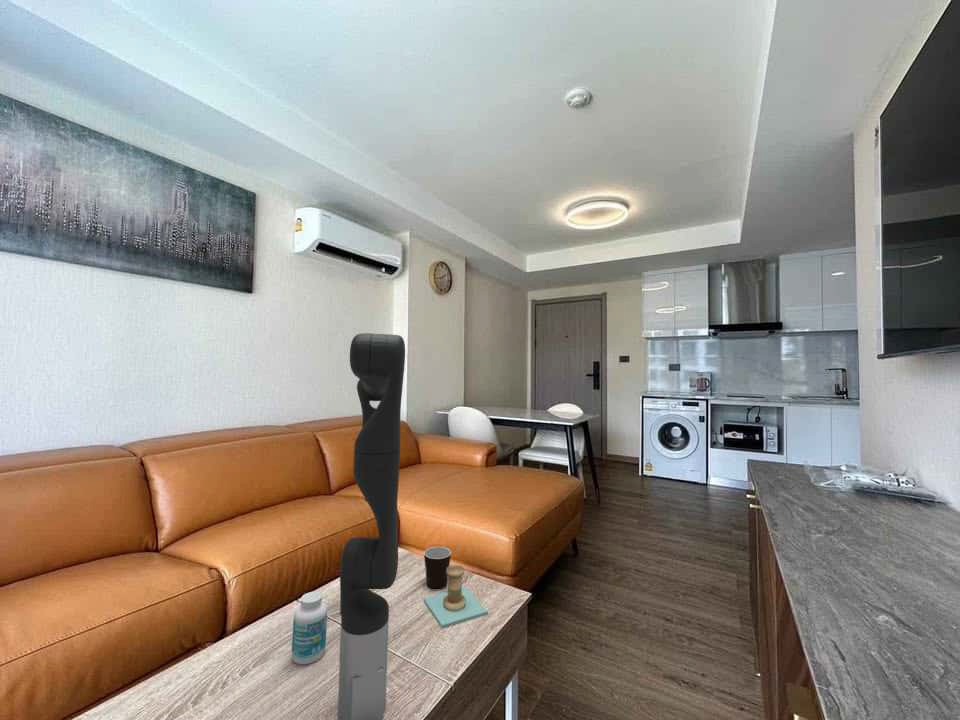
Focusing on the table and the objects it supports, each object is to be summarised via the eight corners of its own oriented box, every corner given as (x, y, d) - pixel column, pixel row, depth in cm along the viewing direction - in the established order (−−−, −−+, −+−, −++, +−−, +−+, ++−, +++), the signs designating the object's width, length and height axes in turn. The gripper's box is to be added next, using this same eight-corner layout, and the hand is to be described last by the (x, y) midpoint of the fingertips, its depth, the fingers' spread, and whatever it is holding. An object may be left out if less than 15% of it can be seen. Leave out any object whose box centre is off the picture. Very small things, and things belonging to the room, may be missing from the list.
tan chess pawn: (469, 607, 112) (470, 571, 112) (449, 614, 108) (450, 577, 109) (458, 596, 117) (459, 562, 118) (439, 602, 114) (440, 567, 114)
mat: (487, 614, 110) (487, 611, 110) (441, 628, 103) (442, 625, 103) (465, 589, 122) (465, 587, 122) (423, 600, 116) (423, 598, 116)
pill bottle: (288, 669, 88) (291, 607, 89) (294, 647, 95) (297, 590, 96) (323, 663, 90) (326, 603, 91) (327, 642, 97) (329, 586, 98)
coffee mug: (445, 593, 120) (446, 560, 120) (419, 589, 122) (420, 557, 122) (455, 574, 131) (456, 544, 132) (431, 571, 133) (432, 541, 134)
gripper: (394, 450, 106) (392, 511, 105) (381, 442, 118) (379, 496, 117) (366, 452, 102) (364, 515, 101) (355, 443, 114) (353, 499, 114)
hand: (372, 505), depth 109 cm, fingers open, 8 cm apart
